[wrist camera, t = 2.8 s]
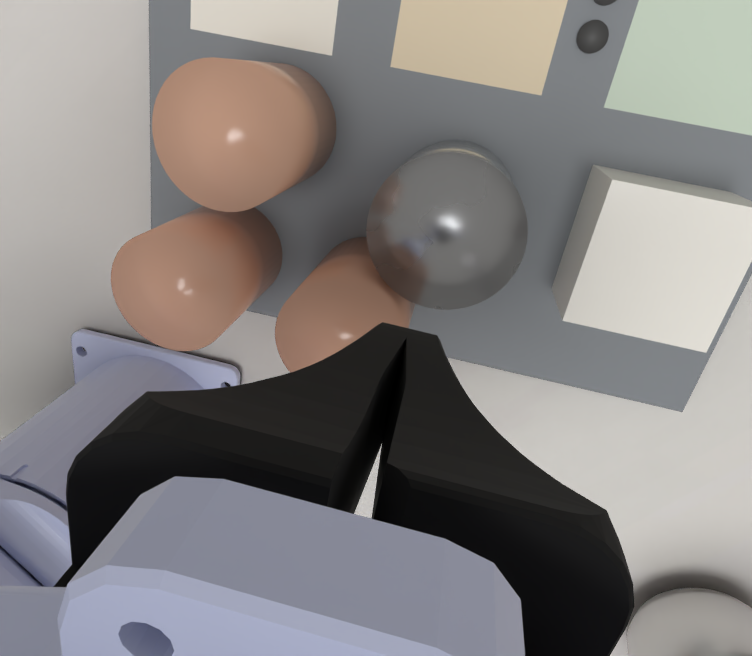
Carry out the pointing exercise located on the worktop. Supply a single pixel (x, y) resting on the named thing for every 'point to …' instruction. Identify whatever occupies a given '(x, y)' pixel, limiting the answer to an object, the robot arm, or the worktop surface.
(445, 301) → the tin
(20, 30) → the worktop surface
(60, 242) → the worktop surface
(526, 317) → the board
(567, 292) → the white block
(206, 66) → the tan rounded cylinder
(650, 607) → the plastic bottle
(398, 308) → the tan rounded block
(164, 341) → the tan rounded block
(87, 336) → the robot arm
